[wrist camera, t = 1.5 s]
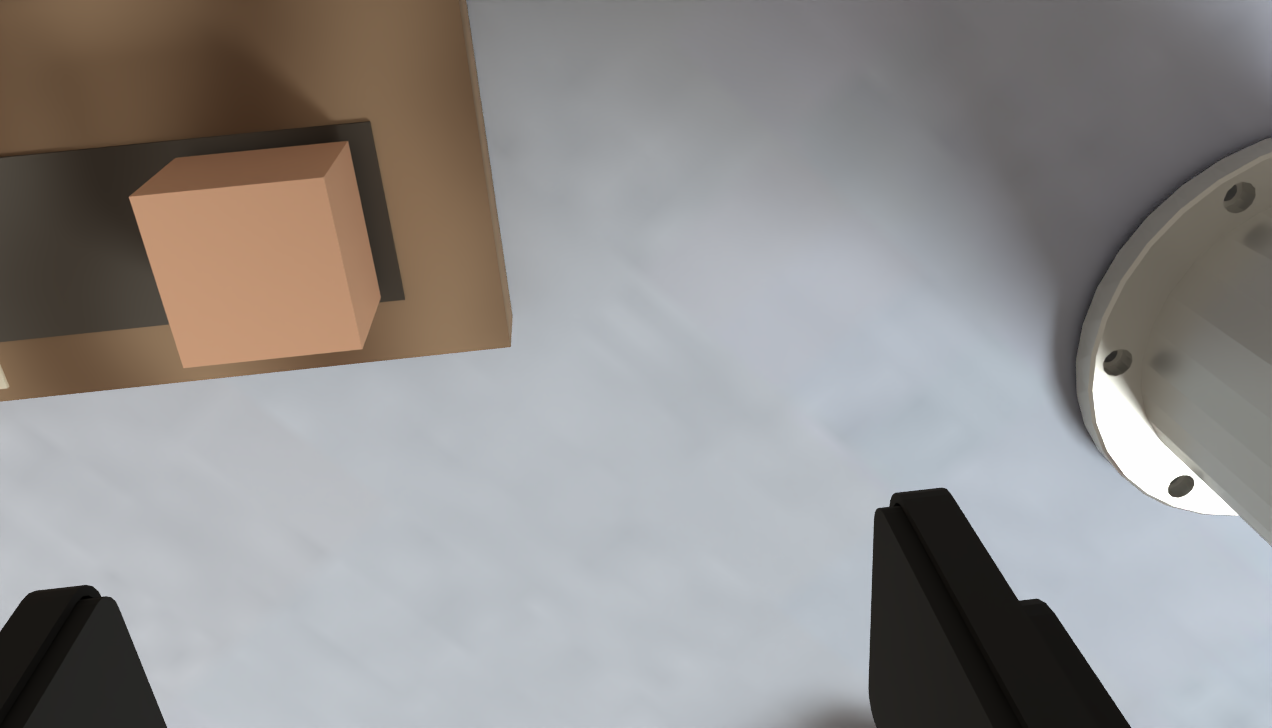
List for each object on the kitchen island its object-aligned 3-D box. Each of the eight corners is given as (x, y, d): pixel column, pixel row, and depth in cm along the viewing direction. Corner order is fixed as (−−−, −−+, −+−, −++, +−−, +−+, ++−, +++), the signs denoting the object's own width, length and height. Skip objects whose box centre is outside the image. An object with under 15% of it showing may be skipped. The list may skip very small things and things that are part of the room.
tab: (347, 140, 24) (323, 176, 21) (381, 297, 26) (362, 349, 23) (175, 157, 24) (128, 196, 21) (220, 314, 25) (183, 368, 23)
